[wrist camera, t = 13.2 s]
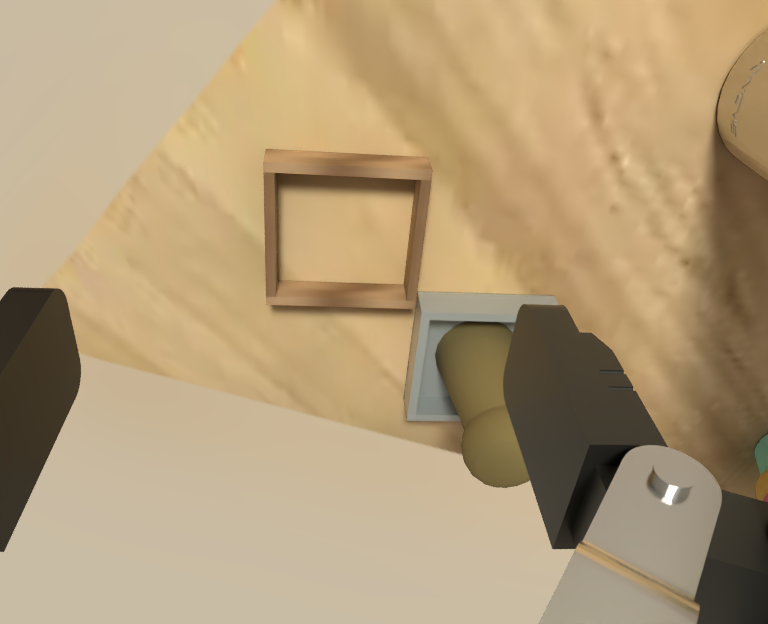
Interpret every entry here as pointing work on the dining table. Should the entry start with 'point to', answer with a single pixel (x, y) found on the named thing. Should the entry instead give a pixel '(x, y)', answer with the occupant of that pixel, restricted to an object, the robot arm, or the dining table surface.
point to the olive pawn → (482, 400)
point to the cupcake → (762, 469)
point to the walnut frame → (355, 167)
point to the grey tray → (430, 324)
